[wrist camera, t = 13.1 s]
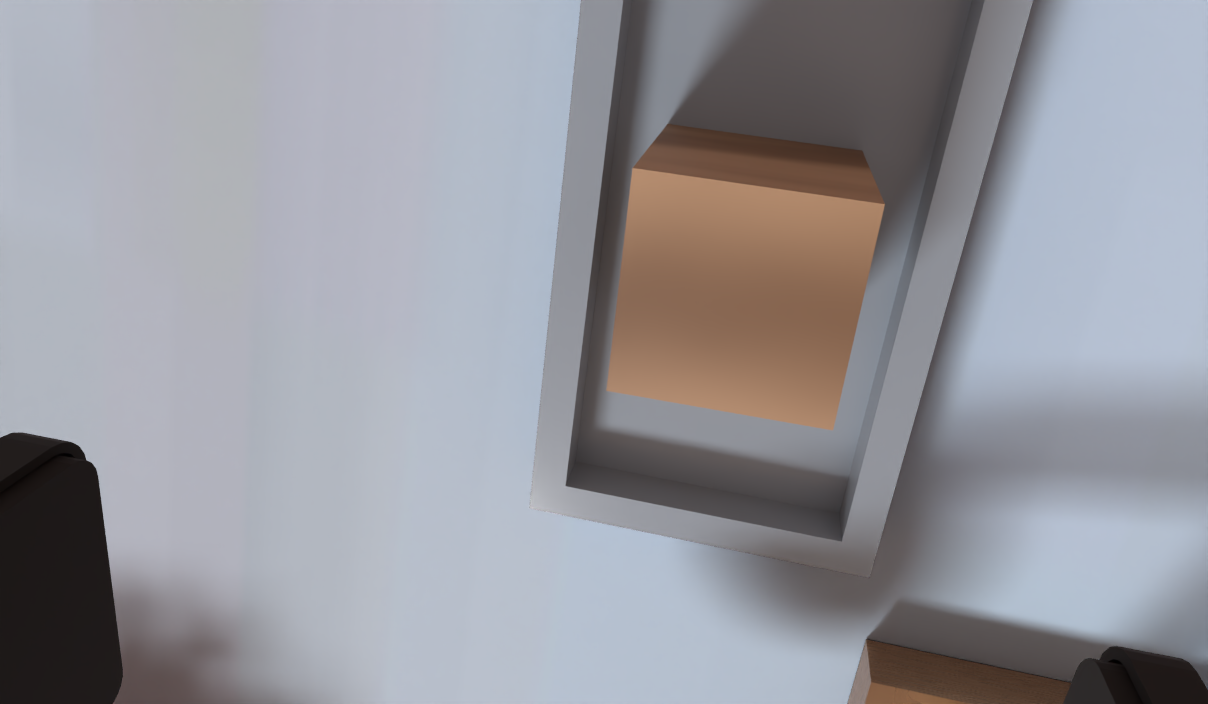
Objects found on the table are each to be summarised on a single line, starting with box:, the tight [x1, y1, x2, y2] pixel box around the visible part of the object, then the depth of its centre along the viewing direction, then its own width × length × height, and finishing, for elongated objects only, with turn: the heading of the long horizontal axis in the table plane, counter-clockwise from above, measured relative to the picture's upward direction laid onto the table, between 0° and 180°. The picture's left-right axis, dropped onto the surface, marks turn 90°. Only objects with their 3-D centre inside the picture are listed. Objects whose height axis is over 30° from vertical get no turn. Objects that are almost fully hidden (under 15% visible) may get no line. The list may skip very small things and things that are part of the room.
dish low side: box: [529, 0, 1033, 578], centre depth 25 cm, size 18×10×2 cm, turn 173°
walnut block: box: [606, 124, 885, 430], centre depth 22 cm, size 5×5×6 cm
